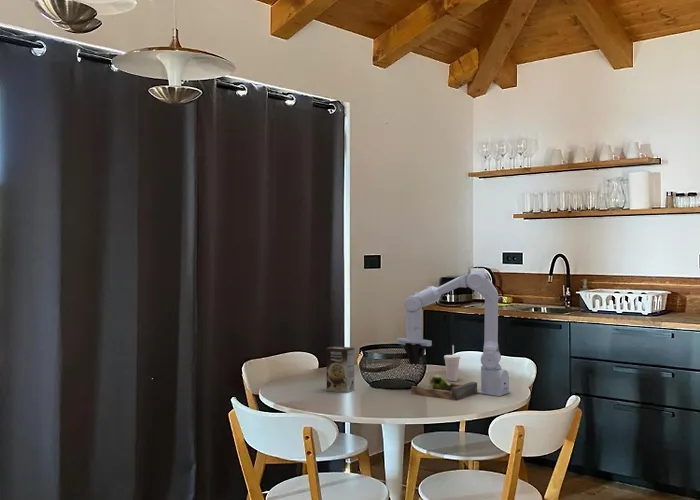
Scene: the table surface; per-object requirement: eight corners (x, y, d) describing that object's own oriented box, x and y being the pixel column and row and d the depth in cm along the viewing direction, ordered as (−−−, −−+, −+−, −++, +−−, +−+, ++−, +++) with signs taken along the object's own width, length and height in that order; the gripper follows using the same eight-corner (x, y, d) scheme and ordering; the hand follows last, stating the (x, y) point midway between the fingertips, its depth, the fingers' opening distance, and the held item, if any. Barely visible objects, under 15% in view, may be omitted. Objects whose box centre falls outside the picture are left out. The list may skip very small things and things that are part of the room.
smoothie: (455, 382, 267) (455, 346, 267) (441, 380, 271) (440, 345, 271) (463, 379, 272) (462, 344, 272) (449, 378, 276) (448, 343, 276)
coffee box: (325, 391, 255) (325, 347, 255) (334, 388, 260) (333, 345, 260) (347, 393, 250) (346, 349, 250) (355, 389, 256) (354, 346, 256)
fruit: (442, 400, 243) (437, 378, 242) (424, 398, 250) (419, 376, 250) (459, 391, 248) (454, 370, 248) (441, 389, 256) (436, 369, 255)
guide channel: (477, 393, 246) (477, 382, 246) (456, 400, 235) (456, 388, 235) (433, 387, 258) (432, 376, 258) (411, 393, 248) (411, 382, 248)
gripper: (391, 327, 257) (392, 363, 257) (423, 330, 248) (424, 367, 248) (402, 325, 262) (403, 361, 262) (434, 328, 253) (435, 364, 253)
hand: (414, 364), depth 255 cm, fingers closed
